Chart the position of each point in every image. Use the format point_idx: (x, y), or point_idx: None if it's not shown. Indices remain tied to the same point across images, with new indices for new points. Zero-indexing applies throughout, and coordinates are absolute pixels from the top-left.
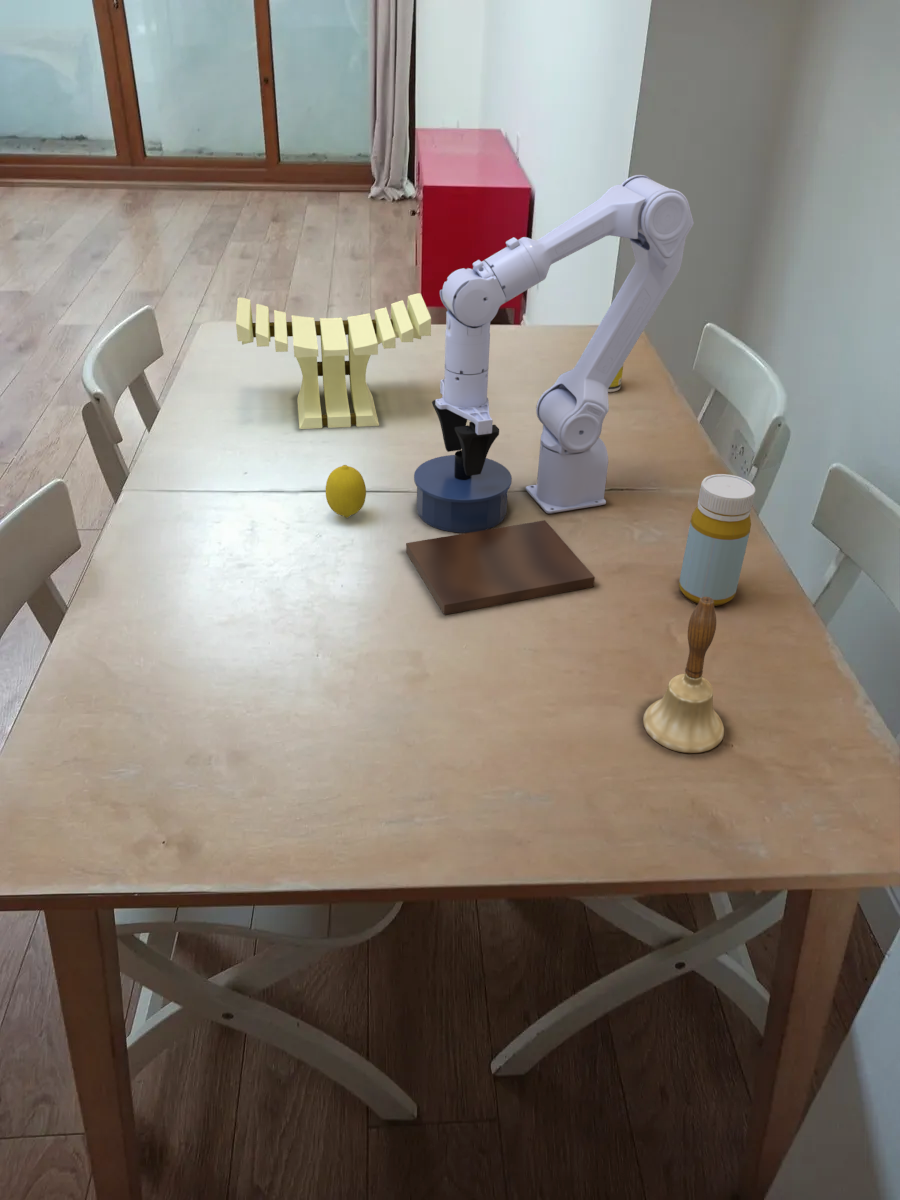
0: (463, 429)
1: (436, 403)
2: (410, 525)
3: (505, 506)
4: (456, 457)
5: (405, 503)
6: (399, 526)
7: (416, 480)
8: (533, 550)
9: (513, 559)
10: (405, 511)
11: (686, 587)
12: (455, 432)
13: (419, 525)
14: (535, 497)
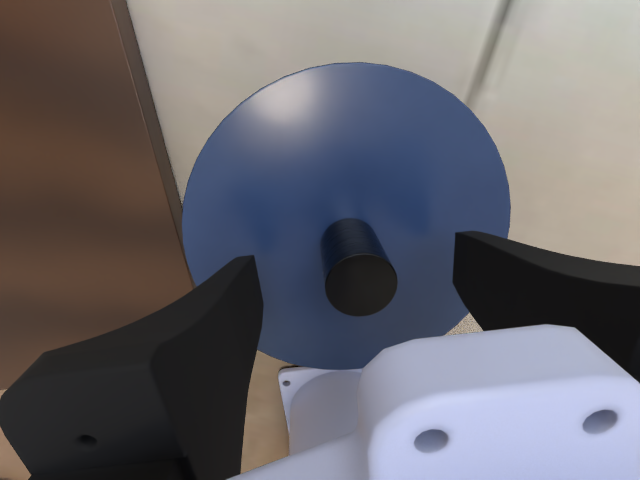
0: (92, 417)
1: (519, 362)
2: (284, 42)
3: None
4: (349, 253)
5: (414, 58)
6: (283, 3)
7: (356, 69)
8: (76, 314)
9: (29, 264)
10: (368, 46)
11: None
12: (497, 303)
13: (279, 71)
14: None
